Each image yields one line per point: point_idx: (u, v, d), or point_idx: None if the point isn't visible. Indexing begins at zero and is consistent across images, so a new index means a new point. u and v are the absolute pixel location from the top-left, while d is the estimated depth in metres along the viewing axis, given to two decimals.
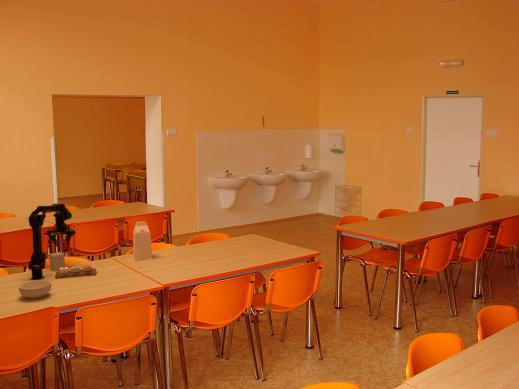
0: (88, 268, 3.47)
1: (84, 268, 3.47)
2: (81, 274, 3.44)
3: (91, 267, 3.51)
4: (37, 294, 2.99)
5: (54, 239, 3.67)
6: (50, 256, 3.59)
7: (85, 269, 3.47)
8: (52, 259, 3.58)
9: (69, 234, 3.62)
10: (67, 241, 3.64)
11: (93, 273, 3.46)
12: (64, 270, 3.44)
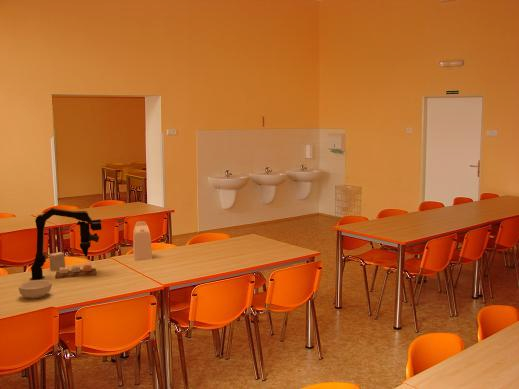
0: (88, 268, 3.47)
1: (84, 268, 3.47)
2: (81, 274, 3.44)
3: (91, 267, 3.51)
4: (37, 294, 2.99)
5: None
6: (50, 256, 3.59)
7: (85, 269, 3.47)
8: (52, 259, 3.58)
9: (80, 246, 3.39)
10: (83, 252, 3.44)
11: (93, 273, 3.46)
12: (64, 270, 3.44)
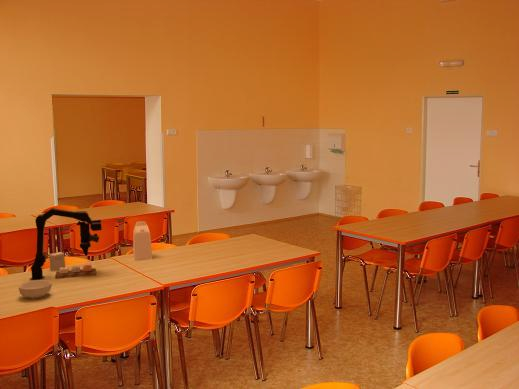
0: (88, 268, 3.47)
1: (84, 268, 3.47)
2: (81, 274, 3.44)
3: (91, 267, 3.51)
4: (37, 294, 2.99)
5: None
6: (50, 256, 3.59)
7: (85, 269, 3.47)
8: (52, 259, 3.58)
9: (80, 246, 3.39)
10: (83, 251, 3.47)
11: (93, 273, 3.46)
12: (64, 270, 3.44)
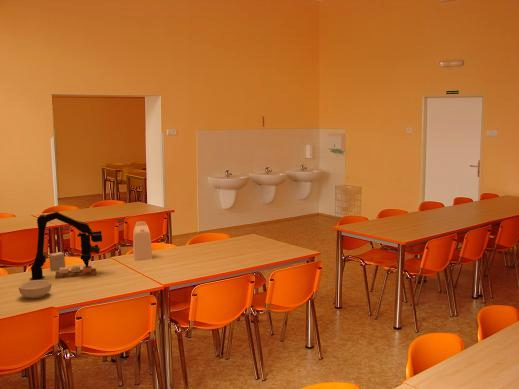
0: (88, 269, 3.47)
1: (84, 269, 3.47)
2: (81, 274, 3.44)
3: (91, 268, 3.51)
4: (37, 294, 2.99)
5: None
6: (50, 256, 3.59)
7: (85, 270, 3.47)
8: (52, 259, 3.58)
9: None
10: (84, 262, 3.47)
11: (93, 273, 3.46)
12: (64, 270, 3.44)
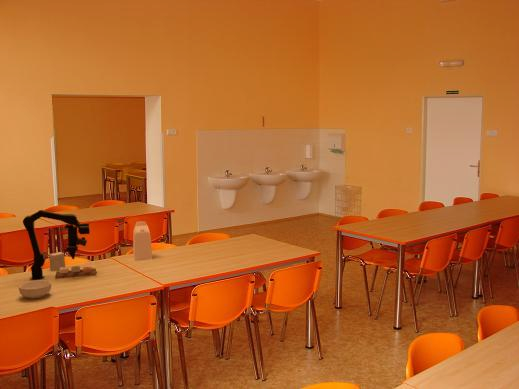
0: (88, 270, 3.47)
1: (84, 270, 3.47)
2: (81, 274, 3.44)
3: (91, 269, 3.51)
4: (37, 294, 2.99)
5: None
6: (50, 256, 3.59)
7: (85, 271, 3.47)
8: (52, 259, 3.58)
9: None
10: (70, 254, 3.45)
11: (93, 273, 3.46)
12: (64, 270, 3.44)
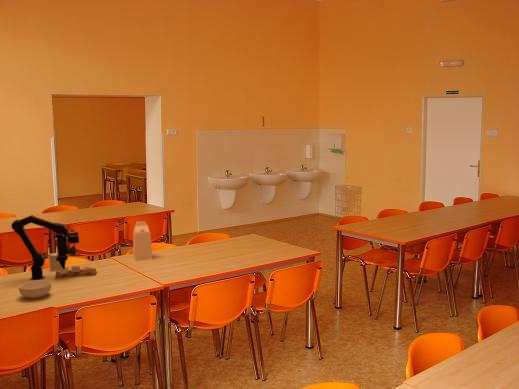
0: (88, 270, 3.47)
1: (84, 270, 3.47)
2: (81, 274, 3.44)
3: (91, 269, 3.51)
4: (37, 294, 2.99)
5: None
6: (50, 256, 3.59)
7: (85, 271, 3.47)
8: (52, 259, 3.58)
9: None
10: None
11: (93, 273, 3.46)
12: (64, 271, 3.44)
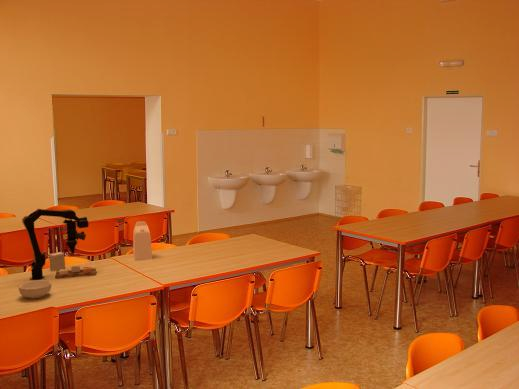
0: (88, 270, 3.47)
1: (84, 270, 3.47)
2: (81, 274, 3.44)
3: (91, 269, 3.51)
4: (37, 294, 2.99)
5: None
6: (50, 256, 3.59)
7: (85, 271, 3.47)
8: (52, 259, 3.58)
9: (66, 244, 3.42)
10: (70, 249, 3.50)
11: (93, 273, 3.46)
12: (64, 272, 3.44)
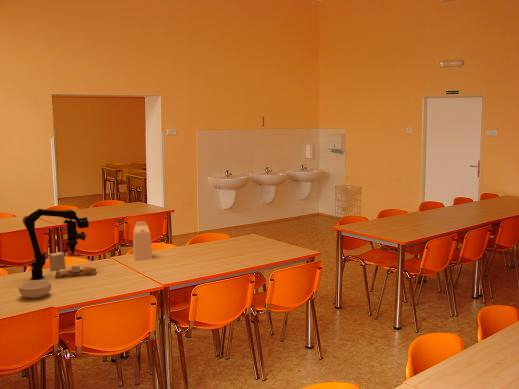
0: (88, 270, 3.47)
1: (84, 270, 3.47)
2: (81, 274, 3.44)
3: (91, 269, 3.51)
4: (37, 294, 2.99)
5: None
6: (50, 256, 3.59)
7: (85, 271, 3.47)
8: (52, 259, 3.58)
9: None
10: (70, 249, 3.50)
11: (93, 273, 3.46)
12: (64, 272, 3.44)
